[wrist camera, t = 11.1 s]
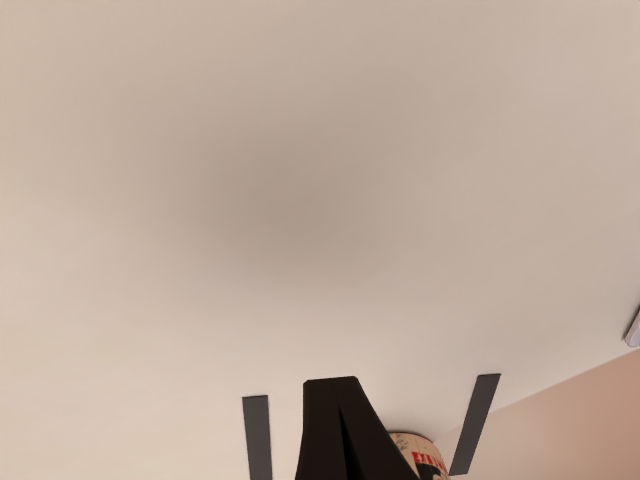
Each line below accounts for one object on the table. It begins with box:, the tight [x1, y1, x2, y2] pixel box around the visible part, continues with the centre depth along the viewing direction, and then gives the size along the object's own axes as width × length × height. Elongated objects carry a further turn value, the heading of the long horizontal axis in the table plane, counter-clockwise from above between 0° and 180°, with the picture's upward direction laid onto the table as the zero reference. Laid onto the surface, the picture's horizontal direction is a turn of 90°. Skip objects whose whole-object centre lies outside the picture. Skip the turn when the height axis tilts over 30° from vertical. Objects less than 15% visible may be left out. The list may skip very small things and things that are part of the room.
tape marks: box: [242, 374, 501, 480], centre depth 30 cm, size 16×11×1 cm, turn 88°
